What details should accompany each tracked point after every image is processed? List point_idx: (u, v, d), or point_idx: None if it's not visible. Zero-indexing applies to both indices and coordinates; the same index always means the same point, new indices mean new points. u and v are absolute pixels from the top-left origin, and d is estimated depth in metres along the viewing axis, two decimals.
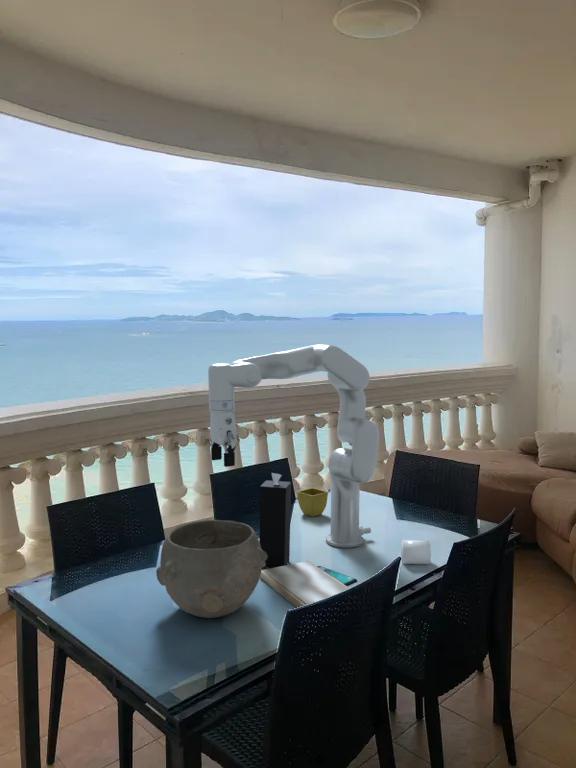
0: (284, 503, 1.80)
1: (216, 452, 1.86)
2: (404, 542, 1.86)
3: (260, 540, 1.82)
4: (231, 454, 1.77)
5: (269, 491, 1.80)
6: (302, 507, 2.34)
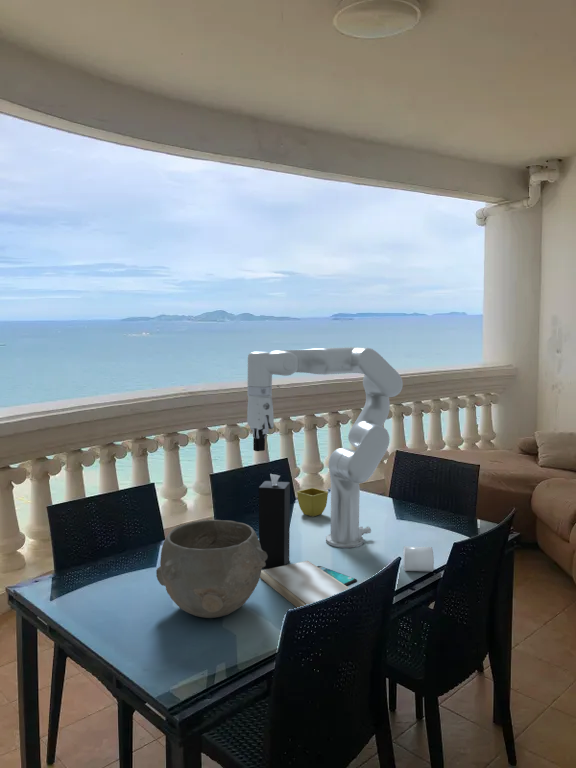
0: (283, 504, 1.79)
1: None
2: (407, 566, 1.79)
3: (260, 541, 1.82)
4: (262, 439, 1.90)
5: (268, 492, 1.80)
6: (302, 507, 2.34)
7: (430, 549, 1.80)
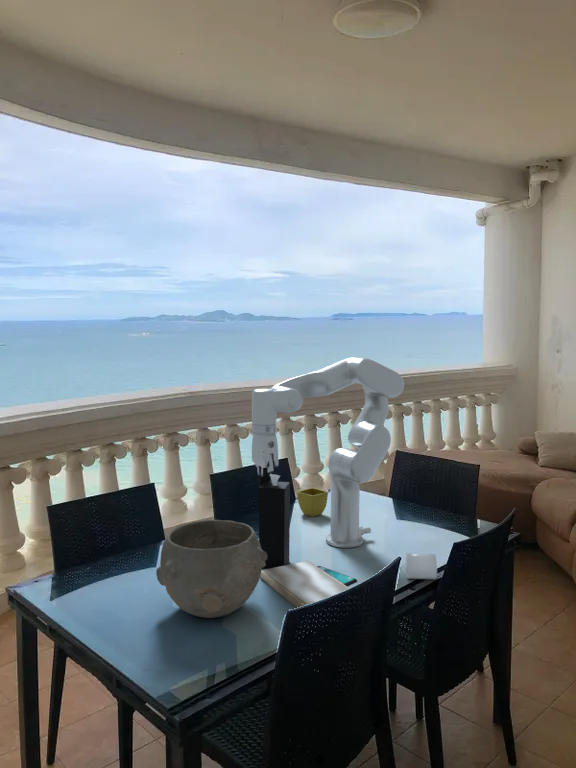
0: (283, 504, 1.79)
1: None
2: None
3: (260, 541, 1.82)
4: (267, 477, 1.88)
5: (268, 492, 1.80)
6: (302, 507, 2.34)
7: (434, 575, 1.73)
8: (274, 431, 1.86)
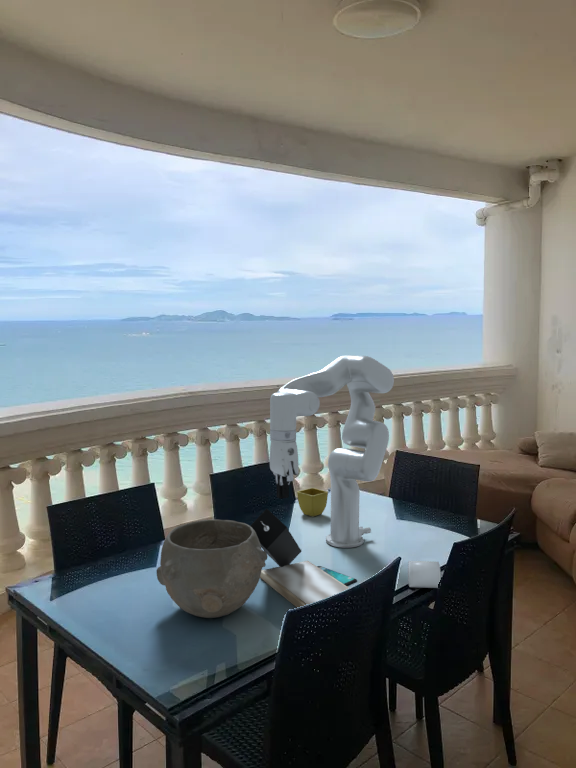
0: (269, 552, 1.64)
1: None
2: None
3: None
4: (286, 486, 1.78)
5: None
6: (302, 507, 2.34)
7: None
8: (294, 437, 1.76)
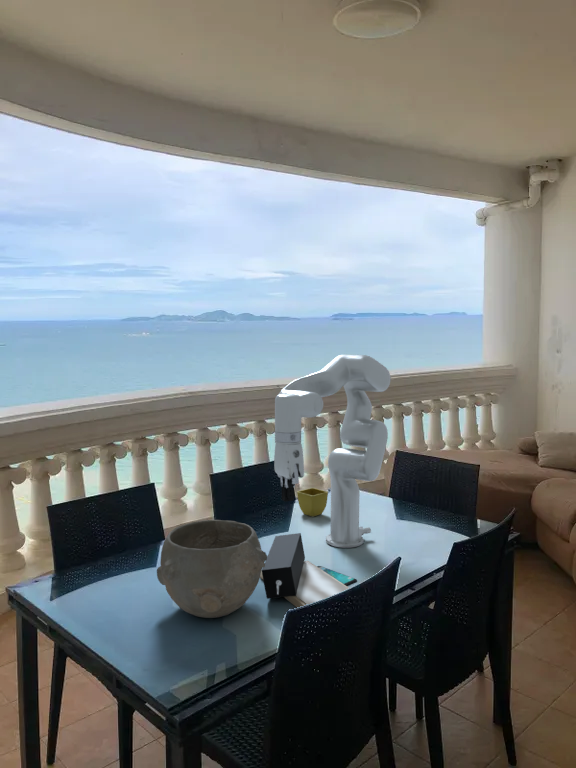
0: None
1: None
2: None
3: None
4: (291, 489, 1.75)
5: None
6: (302, 507, 2.34)
7: None
8: (299, 439, 1.73)
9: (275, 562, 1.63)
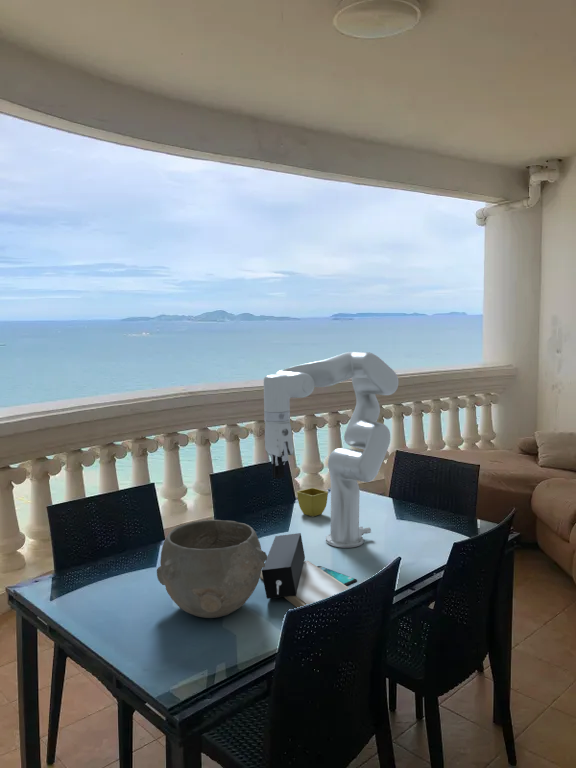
0: None
1: None
2: None
3: None
4: (281, 466, 1.81)
5: None
6: (302, 507, 2.34)
7: None
8: (288, 418, 1.79)
9: (275, 562, 1.63)
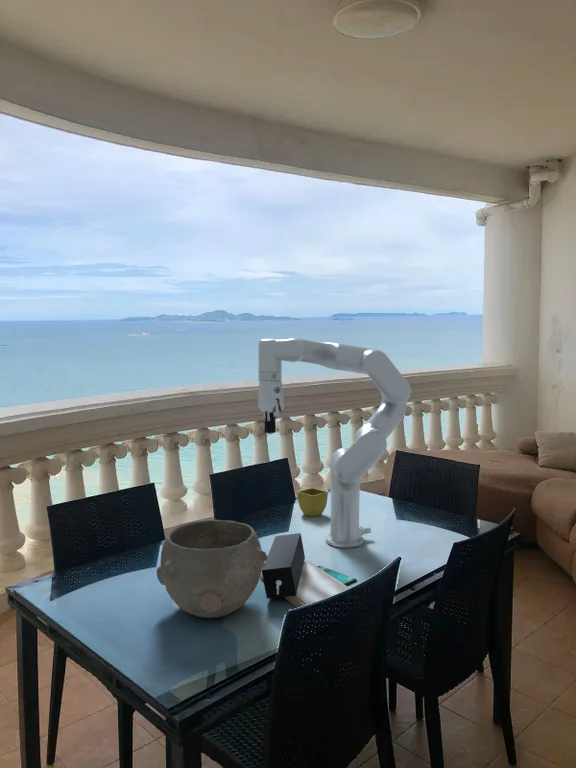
0: None
1: None
2: None
3: None
4: (272, 422, 2.01)
5: None
6: (302, 507, 2.34)
7: None
8: (280, 378, 1.99)
9: (275, 562, 1.63)
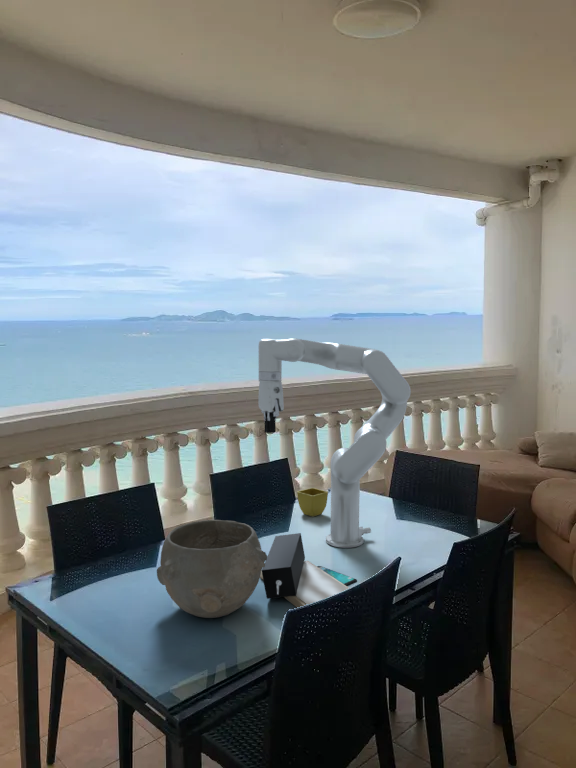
0: None
1: None
2: None
3: None
4: (272, 422, 2.01)
5: None
6: (302, 507, 2.34)
7: None
8: (279, 378, 1.99)
9: (275, 562, 1.63)
